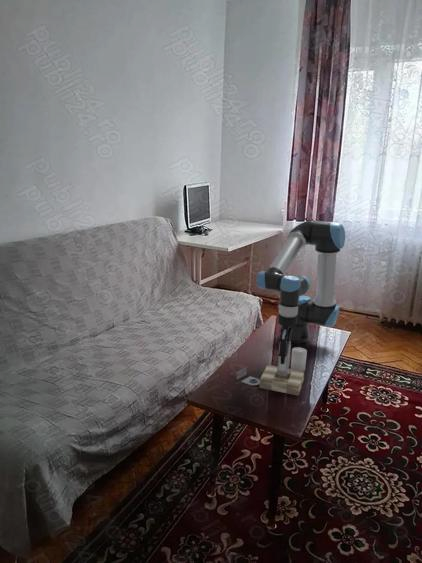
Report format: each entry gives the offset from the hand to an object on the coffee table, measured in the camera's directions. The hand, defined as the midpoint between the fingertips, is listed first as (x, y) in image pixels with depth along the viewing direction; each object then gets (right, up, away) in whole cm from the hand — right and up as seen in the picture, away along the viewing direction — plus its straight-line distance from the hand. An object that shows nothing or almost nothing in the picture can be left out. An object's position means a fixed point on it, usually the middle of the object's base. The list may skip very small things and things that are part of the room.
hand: (283, 367), depth 173 cm
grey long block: (0, -3, +1) cm, 3 cm away
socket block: (0, -7, +2) cm, 7 cm away
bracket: (-14, -7, +4) cm, 16 cm away
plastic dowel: (+9, -4, +16) cm, 19 cm away
